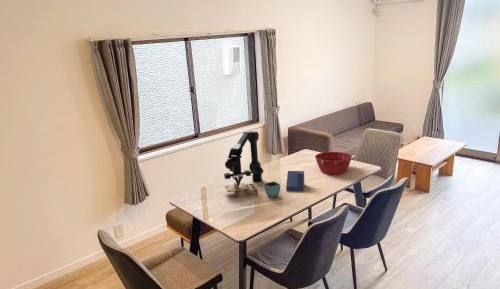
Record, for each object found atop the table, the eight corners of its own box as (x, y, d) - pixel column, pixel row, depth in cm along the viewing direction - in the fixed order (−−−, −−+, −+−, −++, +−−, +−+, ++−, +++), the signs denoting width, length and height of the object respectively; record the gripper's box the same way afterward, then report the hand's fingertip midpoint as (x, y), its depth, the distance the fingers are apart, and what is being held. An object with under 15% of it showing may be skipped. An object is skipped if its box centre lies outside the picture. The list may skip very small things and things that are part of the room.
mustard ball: (251, 189, 268) (251, 184, 267) (253, 191, 265) (252, 185, 264) (246, 190, 267) (246, 184, 267) (247, 191, 264) (247, 186, 263)
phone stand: (286, 191, 261) (285, 175, 258) (288, 186, 272) (287, 170, 269) (303, 192, 258) (302, 176, 255) (304, 186, 269) (304, 170, 267)
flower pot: (270, 199, 248) (269, 187, 246) (263, 195, 256) (263, 183, 254) (281, 196, 252) (280, 184, 250) (274, 193, 260) (274, 181, 258)
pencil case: (253, 189, 271) (252, 183, 270) (257, 194, 258) (257, 189, 257) (233, 191, 267) (232, 186, 266) (237, 198, 255) (236, 192, 254)
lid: (244, 184, 268) (243, 180, 267) (248, 189, 256) (247, 185, 255) (224, 186, 264) (224, 183, 264) (228, 192, 253) (227, 188, 252)
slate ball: (253, 191, 263) (253, 186, 262) (255, 193, 259) (254, 188, 259) (248, 192, 262) (248, 187, 261) (249, 194, 259) (249, 189, 258)
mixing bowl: (327, 167, 312) (327, 149, 309) (358, 172, 292) (358, 154, 289) (308, 175, 293) (308, 157, 289) (340, 182, 273) (339, 162, 269)
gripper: (246, 160, 266) (248, 180, 270) (221, 163, 262) (223, 184, 266) (250, 164, 256) (251, 185, 259) (224, 167, 252) (226, 189, 255)
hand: (238, 185), depth 260 cm, fingers closed
